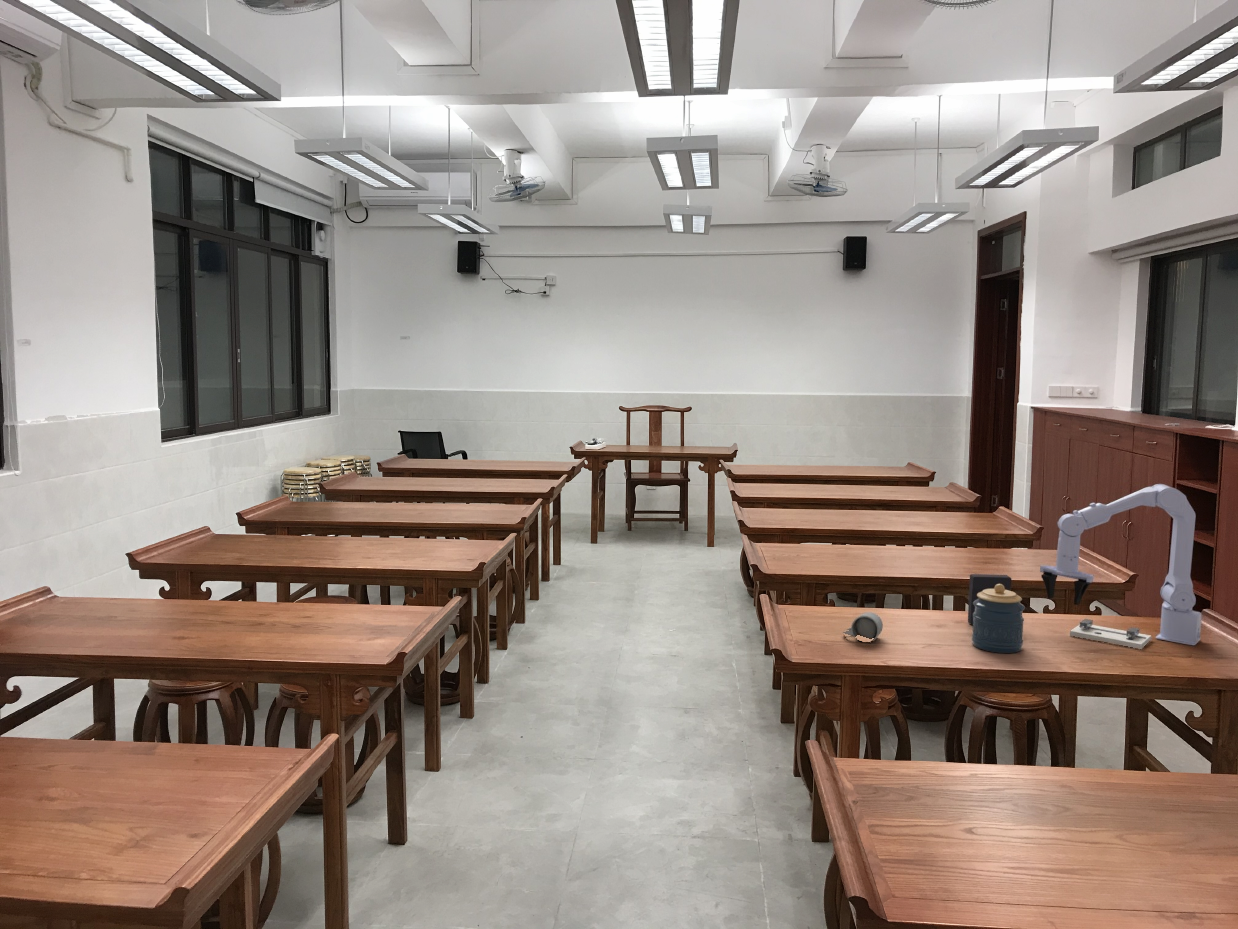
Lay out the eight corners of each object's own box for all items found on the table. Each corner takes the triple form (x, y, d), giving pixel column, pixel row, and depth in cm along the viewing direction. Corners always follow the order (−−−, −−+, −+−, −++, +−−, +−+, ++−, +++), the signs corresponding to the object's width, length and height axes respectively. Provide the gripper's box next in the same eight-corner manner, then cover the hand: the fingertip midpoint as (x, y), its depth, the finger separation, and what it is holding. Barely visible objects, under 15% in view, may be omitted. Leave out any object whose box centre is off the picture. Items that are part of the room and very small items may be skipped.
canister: (998, 656, 233) (1001, 591, 231) (961, 643, 244) (963, 581, 242) (1033, 650, 238) (1036, 587, 236) (995, 637, 250) (998, 576, 248)
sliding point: (1092, 625, 254) (1092, 620, 254) (1086, 629, 250) (1086, 624, 250) (1084, 624, 256) (1085, 618, 256) (1078, 628, 251) (1079, 622, 251)
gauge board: (1150, 640, 246) (1151, 634, 246) (1140, 649, 238) (1141, 643, 238) (1081, 627, 259) (1081, 622, 259) (1069, 636, 251) (1070, 630, 251)
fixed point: (1139, 634, 246) (1139, 628, 246) (1133, 638, 242) (1133, 632, 242) (1131, 632, 247) (1131, 627, 247) (1125, 637, 243) (1125, 631, 243)
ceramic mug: (883, 637, 250) (884, 610, 249) (878, 645, 242) (878, 617, 242) (846, 632, 254) (846, 606, 254) (839, 640, 247) (840, 613, 246)
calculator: (1004, 623, 264) (1006, 574, 262) (1009, 627, 260) (1011, 577, 258) (966, 621, 265) (968, 573, 263) (971, 626, 261) (973, 576, 259)
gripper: (1036, 552, 257) (1032, 597, 259) (1087, 562, 246) (1082, 609, 247) (1048, 549, 261) (1044, 594, 263) (1098, 559, 250) (1094, 605, 251)
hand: (1063, 601), depth 255 cm, fingers open, 7 cm apart
